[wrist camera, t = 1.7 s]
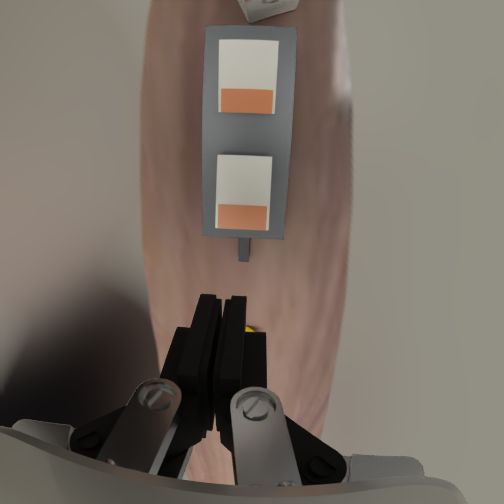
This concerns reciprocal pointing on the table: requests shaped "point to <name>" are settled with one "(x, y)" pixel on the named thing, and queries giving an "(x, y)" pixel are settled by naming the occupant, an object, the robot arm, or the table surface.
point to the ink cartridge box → (265, 8)
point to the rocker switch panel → (248, 130)
